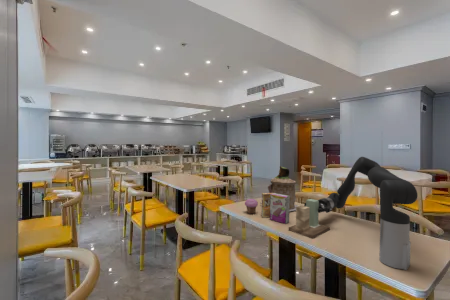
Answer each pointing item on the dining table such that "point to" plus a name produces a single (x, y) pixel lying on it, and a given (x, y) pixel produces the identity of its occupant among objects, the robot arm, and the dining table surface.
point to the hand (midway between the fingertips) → (311, 209)
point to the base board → (311, 231)
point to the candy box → (266, 204)
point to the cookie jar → (284, 186)
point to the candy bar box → (279, 208)
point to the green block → (313, 211)
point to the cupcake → (251, 205)
